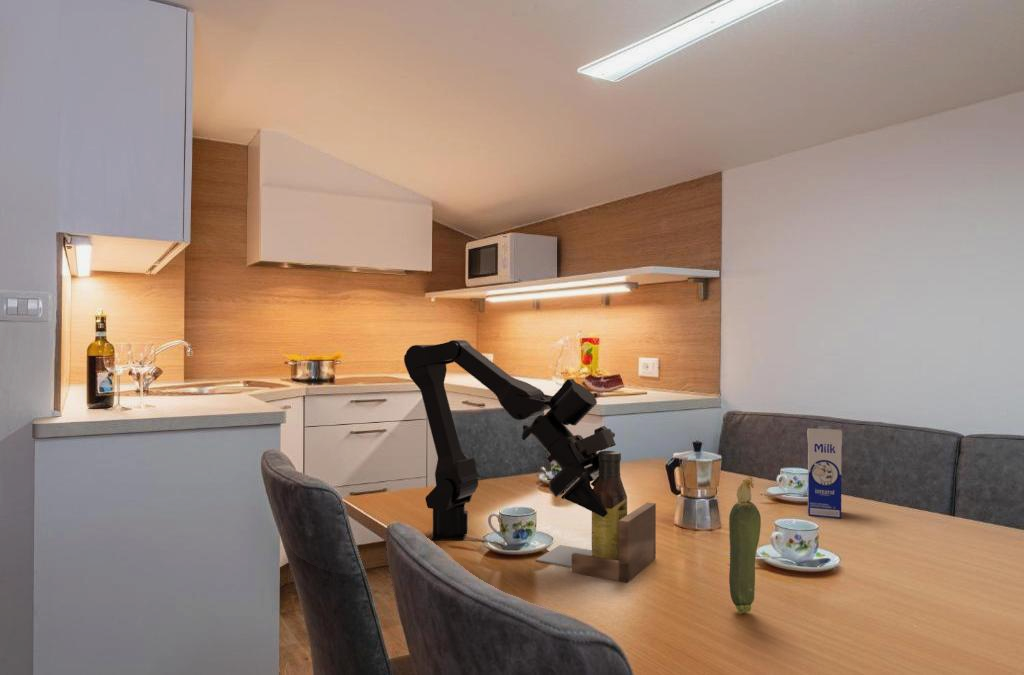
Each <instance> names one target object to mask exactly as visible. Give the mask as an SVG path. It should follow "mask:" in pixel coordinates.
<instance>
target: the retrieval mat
mask: <svg viewBox="0 0 1024 675" xmlns="http://www.w3.org/2000/svg"><path fill="white" fill-rule="evenodd" d="M573 553H579V554H584V555H590V556H592V549H587V548H580V547H576V546H575V547H573V546H567V545H564V544H563V545H562V544H560V545H558V546H556V547H554V548H553V549H551V550H550V551H548V552H546V553H544V554H543V555H541V556H539V557H537V558H536V559H535V562H540V563H545V564H550V565H555V566H561V567H567V568H571V569H572V554H573Z"/></svg>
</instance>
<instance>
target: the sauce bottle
mask: <svg viewBox="0 0 1024 675" xmlns="http://www.w3.org/2000/svg"><path fill="white" fill-rule="evenodd" d="M597 453H598V461H599V473H598V474H599V479H598V480H597V482H596V483H595V485H594V486H592V489H593V491H594V492H595V493H596V495H597V496H598V498H599V499H600V501H601V502H602V504H603V505H604V507H605V509H606V510H607V512H608V514H607V515H606V516H605V517H602V516H600V515H598V514H596V513H594V512H592V511H591V550H592V556H596V557H602V558H608V559H614V560H619V520H620V519H622V518H623V517H625V516H627V515H628V496H627V493H626V490H625V486H624V484H623V481H622V477H621V476H622V475H621V460H622V454H621V453H622V452H620V451H618V450H617V451H616V450H602V451H597Z"/></svg>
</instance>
